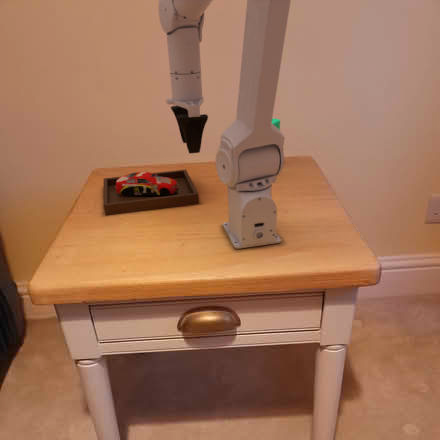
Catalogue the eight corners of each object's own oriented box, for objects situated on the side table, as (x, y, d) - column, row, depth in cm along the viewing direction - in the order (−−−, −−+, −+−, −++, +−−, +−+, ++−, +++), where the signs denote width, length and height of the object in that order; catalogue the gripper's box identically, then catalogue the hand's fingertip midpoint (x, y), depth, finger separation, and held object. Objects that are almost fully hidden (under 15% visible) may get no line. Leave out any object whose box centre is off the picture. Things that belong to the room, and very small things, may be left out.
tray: (199, 203, 85) (198, 193, 84) (105, 215, 82) (103, 205, 81) (186, 178, 98) (186, 169, 97) (105, 187, 95) (103, 178, 94)
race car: (181, 188, 91) (179, 169, 89) (176, 197, 87) (174, 179, 85) (122, 187, 93) (119, 169, 91) (114, 196, 88) (111, 178, 86)
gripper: (159, 68, 83) (167, 139, 91) (168, 79, 71) (176, 159, 79) (195, 66, 84) (199, 136, 92) (209, 76, 72) (213, 156, 80)
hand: (191, 147), depth 86 cm, fingers open, 7 cm apart
